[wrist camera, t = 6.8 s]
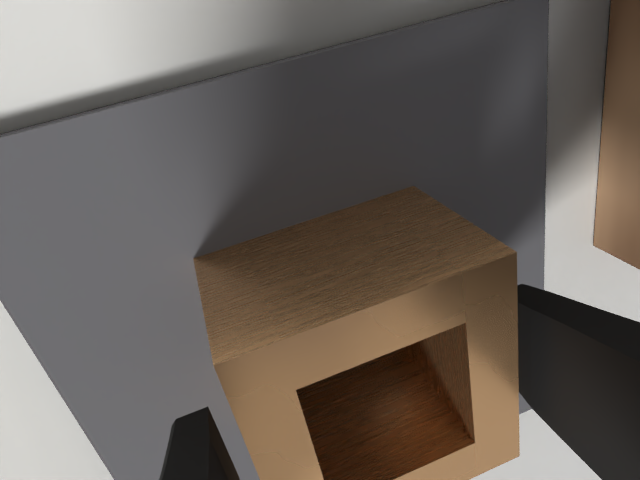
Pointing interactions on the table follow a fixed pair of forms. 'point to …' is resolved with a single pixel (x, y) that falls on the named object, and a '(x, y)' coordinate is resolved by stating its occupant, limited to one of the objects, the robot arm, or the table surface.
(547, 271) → the table surface
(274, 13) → the table surface
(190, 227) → the mat
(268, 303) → the collar
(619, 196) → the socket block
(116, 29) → the table surface
